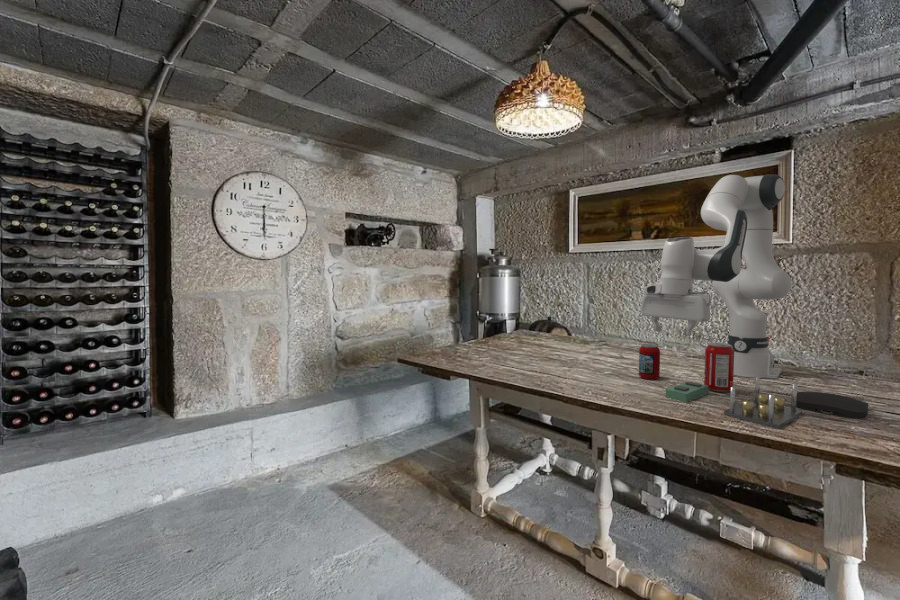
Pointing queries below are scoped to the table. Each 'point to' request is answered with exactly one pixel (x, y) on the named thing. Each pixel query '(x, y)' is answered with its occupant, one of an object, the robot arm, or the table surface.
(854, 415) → the media streaming box
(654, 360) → the beverage can
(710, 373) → the soda can
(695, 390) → the board
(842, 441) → the table surface
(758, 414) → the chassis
